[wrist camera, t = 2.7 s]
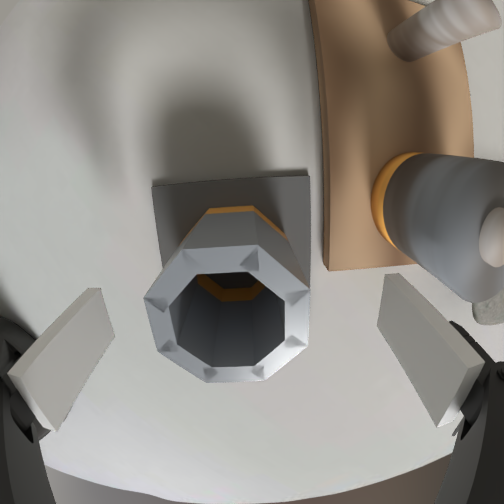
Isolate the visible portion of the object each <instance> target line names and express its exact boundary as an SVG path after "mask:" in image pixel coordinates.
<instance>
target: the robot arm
mask: <svg viewBox="0 0 504 504" xmlns="http://www.w3.org/2000/svg"><path fill="white" fill-rule="evenodd" d="M377 327H378V328H379V330H380V332H381V333H382V335H383V336H384V338H385V339H386V341H387V343H388V344H389V346H390V348H391V349H392V351H393V352H394V354H395V356H396V357H397V359H398V361H399V362H400V364H401V366H402V367H403V369H404V371H405V372H406V374H407V376H408V377H409V379H410V381H411V383H412V384H413V386H414V388H415V390H416V391H417V393H418V395H419V397H420V398H421V400H422V402H423V404H424V406H425V407H426V409H427V411H428V413H429V415H430V417H431V418H432V420H433V422H434V424H435V426H436V428H437V427H439V426H442V425H445V424H447V423H450V422H452V421H454V419H455V417H456V416H457V414H458V413H459V411H460V410H461V412H462V413H463V415H464V417H463V419H462V420H461V422H460V423H459V425H458V426H457V428H456V429H455V431H454V432H453V434H452V436H455V435H456V433H457V432H458V435H457V439H456V442H455V446H454V450H453V453H452V456H451V459H450V463H449V466H448V469H447V472H446V475H445V477H444V480H443V483H442V485H441V488H440V491H439V493H438V496H437V498H436V500H435V503H434V504H504V362H501V361H500V362H497V363H495V362H494V360H493V359H492V358H491V357H490V356H489V355H488V354H487V353H486V352H485V350H484V349H483V348H482V347H481V346H480V345H479V344H478V343H477V342H475V340H474V339H473V338H472V337H471V336H469V333H468V332H467V331H466V330H465V329H464V328H463V327H462V326H460V325H458V324H456V323H455V322H453V321H449V322H448V321H447V320H446V319H445V318H444V317H443V315H442V314H441V313H440V312H439V311H438V310H437V309H436V308H435V307H434V306H433V305H432V304H431V303H430V302H429V301H428V300H427V299H426V298H425V297H424V296H423V295H422V294H420V293H419V292H418V291H417V290H416V289H415V288H414V287H413V286H412V285H411V284H410V283H409V282H408V281H407V280H406V279H405V278H404V277H403V276H402V275H400V274H399V273H396V274H385V277H384V285H383V292H382V299H381V305H380V311H379V317H378V322H377ZM114 337H115V334H114V331H113V328H112V325H111V322H110V319H109V315H108V312H107V309H106V306H105V302H104V299H103V295H102V292H101V288H88V289H87V290H86V291H84V292H83V293H82V294H81V295H80V296H79V297H78V298H77V299H76V300H75V301H74V302H73V303H72V304H71V305H70V306H69V307H68V308H67V309H66V310H65V311H64V312H63V313H62V314H61V315H60V316H59V317H58V318H57V319H56V320H55V321H54V322H53V323H52V324H51V325H50V326H49V327H48V328H47V329H46V330H45V332H44V333H43V334H42V335H41V336H40V337H39V338H38V339H37V340H36V341H35V340H34V339H33V338H32V337H31V336H30V335H29V334H28V333H26V332H25V331H24V330H23V329H22V328H20V327H19V326H17V325H16V324H14V323H13V322H11V321H9V320H7V319H5V318H3V317H0V504H56V502H55V500H54V496H53V493H52V490H51V487H50V484H49V481H48V477H47V474H46V470H45V466H44V462H43V458H42V454H41V449H40V445H39V440H41V439H42V438H43V437H44V436H46V435H47V434H48V433H49V432H50V431H51V430H52V431H55V432H57V431H58V430H59V428H60V426H61V424H62V422H63V421H64V420H65V419H66V417H67V415H68V413H69V412H70V410H71V408H72V405H73V403H74V401H75V400H76V398H77V396H78V395H79V393H80V391H81V390H82V388H83V386H84V385H85V383H86V381H87V380H88V378H89V376H90V375H91V373H92V372H93V370H94V368H95V367H96V365H97V364H98V362H99V360H100V359H101V357H102V356H103V354H104V353H105V351H106V349H107V348H108V346H109V345H110V343H111V342H112V340H113V339H114Z"/></svg>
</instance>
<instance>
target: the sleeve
mask: <svg viewBox="0 0 504 504" xmlns="http://www.w3.org/2000/svg"><path fill="white" fill-rule="evenodd" d="M247 271H248V272H249V273H250V274H251V275H253V276H254V277H255V278H256V279H258V281H257V282H256V283H255V284H254V285H253V286H252V287H251V288H233V289H223V288H222V287H220V286H219V285H218V284H217V283H215V282H214V281H213V280H211V279H210V278H209V277H208V276H206V275H205V274H211V273H230V272H247ZM144 302H145V306H146V310H147V314H148V318H149V322H150V326H151V329H152V333H153V337H154V340H155V344H156V347H157V351H158V352H159V353H161V354H162V355H164V356H165V357H167V358H168V359H170V360H171V361H173V362H174V363H176V364H177V365H179V366H180V367H182V368H183V369H185V370H187V371H188V372H190V373H191V374H193V375H195V376H196V377H198V378H199V379H201V380H203V381H204V382H206V383H214V382H250V381H265V380H266V379H267V378H269V377H270V376H271V375H272V374H274V373H275V372H276V371H278V370H279V369H280V368H281V367H283V366H284V365H285V364H286V363H288V362H289V361H290V360H291V359H293V358H294V357H295V356H296V355H297V354H299V353H300V352H301V351H302V350H303V349H305V348H306V347H307V346H308V334H309V314H310V288H309V285H308V283H307V281H306V279H305V276H304V274H303V272H302V270H301V268H300V265H299V263H298V261H297V259H296V257H295V254H294V252H293V250H292V248H291V246H290V244H289V241H288V239H287V237H286V235H285V233H284V232H282V231H281V230H280V229H279V228H278V227H277V226H276V225H275V224H274V223H272V222H271V221H270V220H269V219H268V218H267V217H266V216H264V215H263V214H262V213H261V212H260V211H259V210H258V209H256V208H255V207H254V206H253V205H252V206H236V207H221V208H209V209H208V210H207V212H206V213H205V214H204V215H203V216H202V217H201V219H200V220H199V221H198V222H197V223H196V225H195V226H194V227H193V228H192V229H191V231H190V232H189V233H188V234H187V236H186V237H185V238H184V239H183V240H182V242H181V243H180V245H179V246H178V248H177V249H176V250H175V252H174V253H173V255H172V256H171V258H170V259H169V261H168V262H167V263H166V265H165V266H164V268H163V269H162V271H161V272H160V274H159V275H158V277H157V278H156V280H155V281H154V283H153V284H152V286H151V287H150V289H149V290H148V292H147V293H146V295H145V296H144Z"/></svg>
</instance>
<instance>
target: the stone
mask: <svg viewBox="0 0 504 504" xmlns="http://www.w3.org/2000/svg"><path fill="white" fill-rule="evenodd" d="M472 312H473V317H474V319H475V321H476V322H477V323H479V324H481V325H496V324H500V323H503V322H504V288H503V289H502V290H501V291H500V292H499V293H498V294H496V295H495V296H494V297H492V298H490V299H488V300H486V301H483V302H478V303H472Z"/></svg>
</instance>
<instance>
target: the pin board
mask: <svg viewBox="0 0 504 504" xmlns="http://www.w3.org/2000/svg"><path fill="white" fill-rule="evenodd" d="M308 1H309V7H310V14H311V21H312V28H313V35H314V43H315V52H316V61H317V71H318V81H319V93H320V106H321V122H322V141H323V169H324V252H323V263H324V265H325V267H326V268H327V270H328V271H341V270H353V269H365V268H377V267H388V266H399V265H409V264H419V265H420V266H421V267H423V268H424V269H425V270H427V271H428V272H429V273H431V274H432V275H433V276H434V277H436V278H437V279H438V280H440V281H441V282H442V283H443V284H445V285H446V286H447V287H448V288H450V289H451V290H452V291H453V292H454V293H456V294H457V295H458V296H459V297H461V298H462V299H463V300H465V301H468V302H471V303H478V302H483V301H486V300H488V299H490V298H492V297H494V296H495V295H496V294H498V293H499V292H500V291H501V290H502V289H503V288H504V162H499V161H493V160H486V159H479V158H474V142H473V122H472V109H471V100H470V91H469V84H468V77H467V71H466V66H465V60H464V56H463V51H462V46H461V41H464V40H467V39H470V38H472V37H475V36H478V35H481V34H484V33H487V32H490V31H493V30H496V29H499V28H500V27H501V23H502V22H501V17H500V14H499V12H498V9H497V8H496V6H495V4H494V3H493V1H492V0H435V1H433V2H432V3H430V4H429V5H427V6H424V5H421V4H418V3H415V2H412V1H409V0H308Z"/></svg>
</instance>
